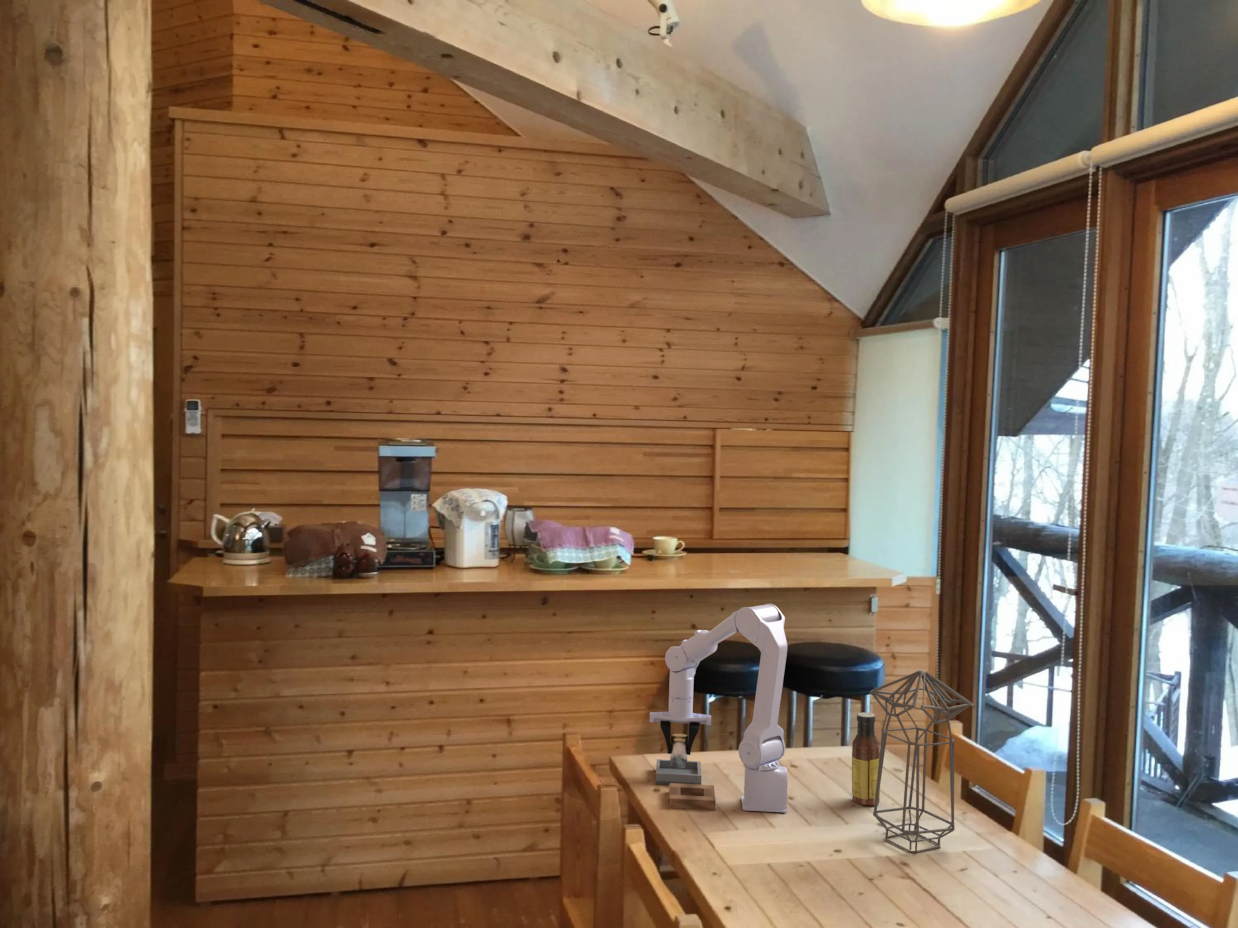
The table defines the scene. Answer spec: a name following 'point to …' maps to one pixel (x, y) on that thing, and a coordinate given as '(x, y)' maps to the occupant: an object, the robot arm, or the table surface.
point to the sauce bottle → (865, 761)
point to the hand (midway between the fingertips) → (679, 752)
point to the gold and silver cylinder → (679, 750)
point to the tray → (678, 773)
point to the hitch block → (692, 796)
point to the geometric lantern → (917, 750)
